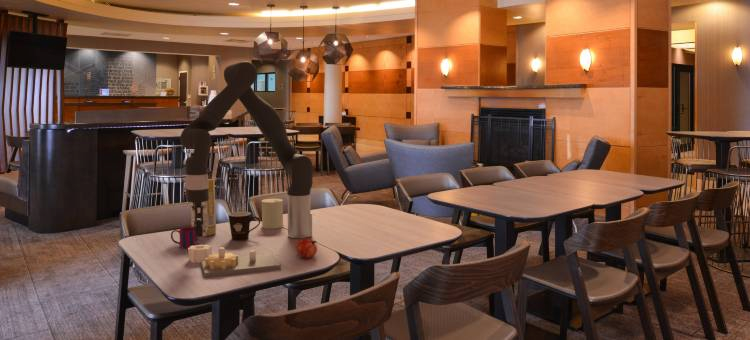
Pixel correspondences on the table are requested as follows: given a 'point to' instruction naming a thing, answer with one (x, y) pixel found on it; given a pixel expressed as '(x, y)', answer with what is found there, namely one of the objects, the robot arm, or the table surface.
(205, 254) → the loose gear
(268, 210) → the can
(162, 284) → the table surface
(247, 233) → the coffee mug
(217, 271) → the gear board
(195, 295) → the table surface
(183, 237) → the cup
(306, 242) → the pomegranate
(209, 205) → the juice carton
